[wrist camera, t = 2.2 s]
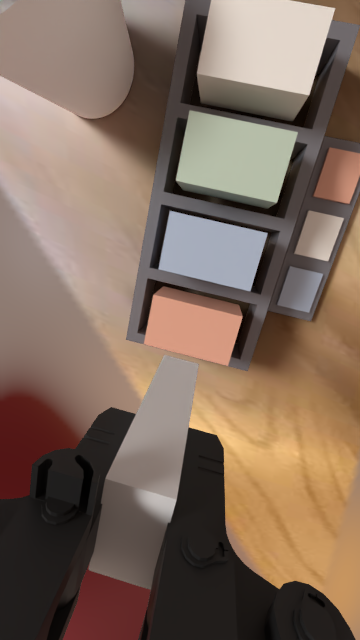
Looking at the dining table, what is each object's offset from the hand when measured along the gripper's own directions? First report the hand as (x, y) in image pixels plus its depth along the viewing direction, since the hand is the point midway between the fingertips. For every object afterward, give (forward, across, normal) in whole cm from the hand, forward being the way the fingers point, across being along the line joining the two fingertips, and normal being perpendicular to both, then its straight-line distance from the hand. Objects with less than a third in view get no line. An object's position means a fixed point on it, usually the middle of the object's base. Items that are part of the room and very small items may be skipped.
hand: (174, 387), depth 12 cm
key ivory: (+11, 0, +16) cm, 19 cm away
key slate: (+11, 0, +6) cm, 12 cm away
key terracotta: (+11, 0, 0) cm, 11 cm away
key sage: (+11, 0, +11) cm, 15 cm away
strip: (+14, +8, +8) cm, 17 cm away
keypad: (+14, 0, +8) cm, 16 cm away
